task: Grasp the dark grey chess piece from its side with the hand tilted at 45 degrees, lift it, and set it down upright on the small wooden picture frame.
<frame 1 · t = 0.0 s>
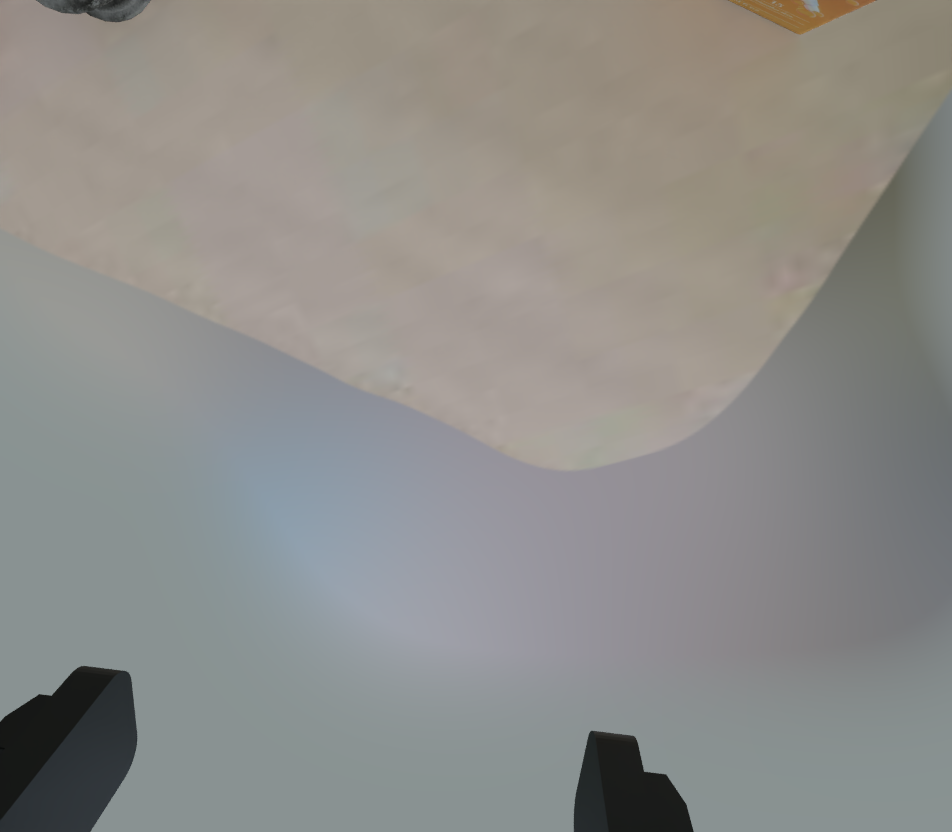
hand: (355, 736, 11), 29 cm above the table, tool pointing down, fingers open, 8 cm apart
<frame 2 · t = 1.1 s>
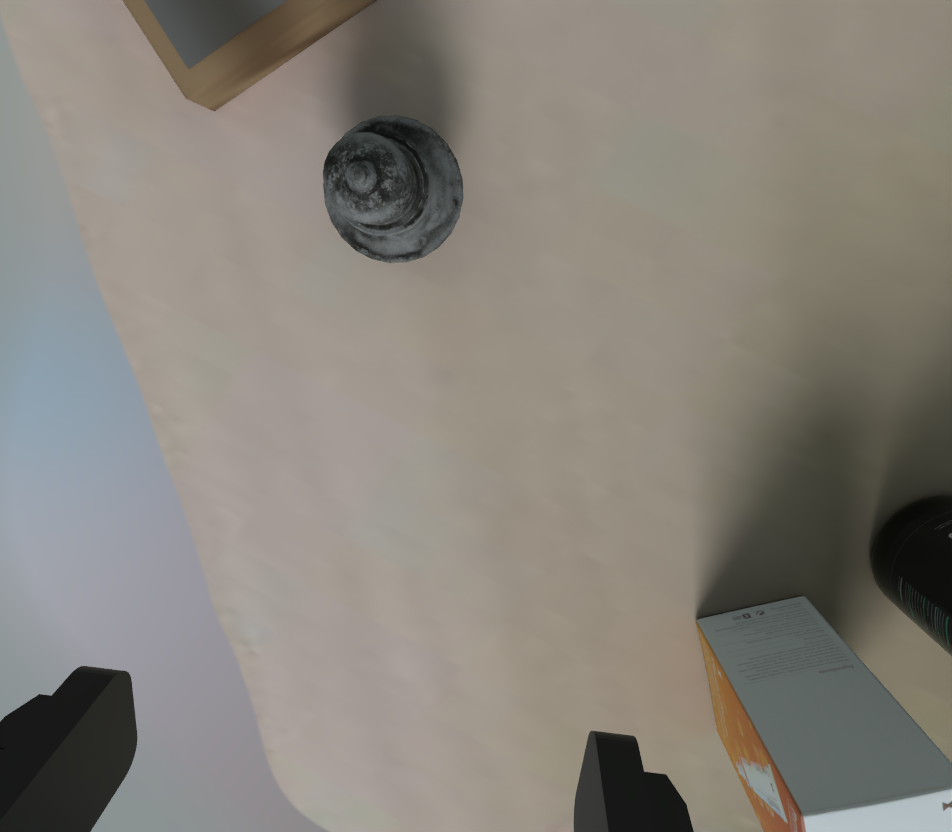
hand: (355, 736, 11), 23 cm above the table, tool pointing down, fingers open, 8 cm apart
small box: (756, 662, 38), on the table
dark grey chess piece: (403, 196, 31), on the table
supplement bottle: (928, 548, 36), on the table
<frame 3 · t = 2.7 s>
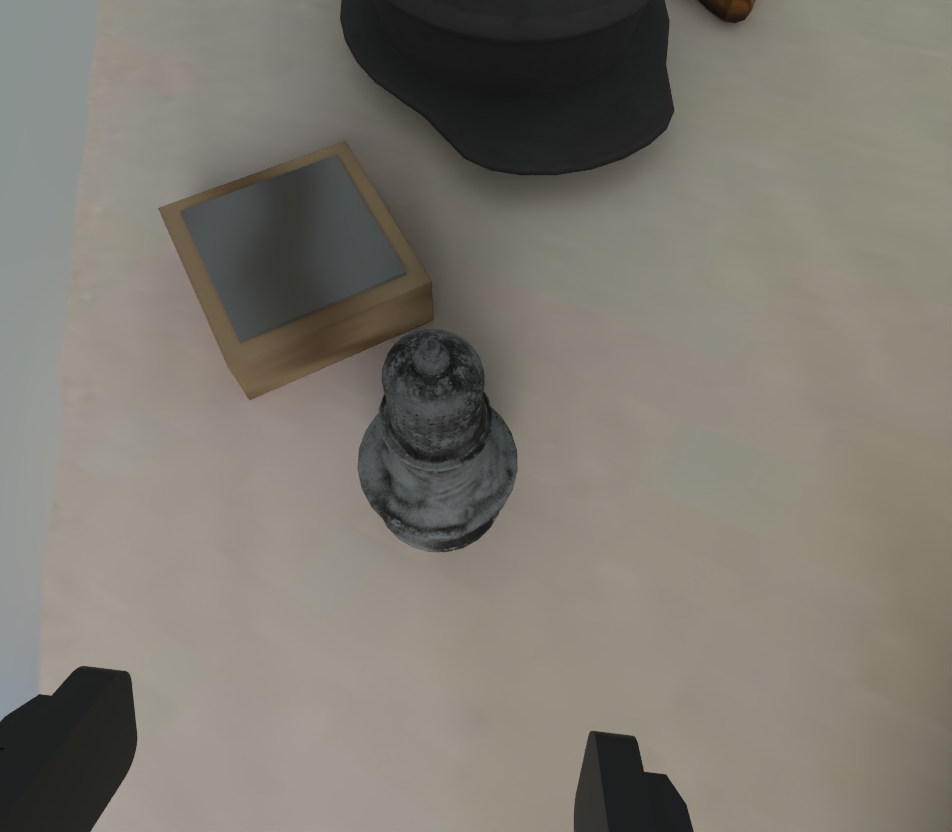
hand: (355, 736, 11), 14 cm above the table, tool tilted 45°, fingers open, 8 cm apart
dark grey chess piece: (439, 490, 28), on the table
casserole: (503, 43, 39), on the table
wooden picture frame: (306, 284, 31), on the table
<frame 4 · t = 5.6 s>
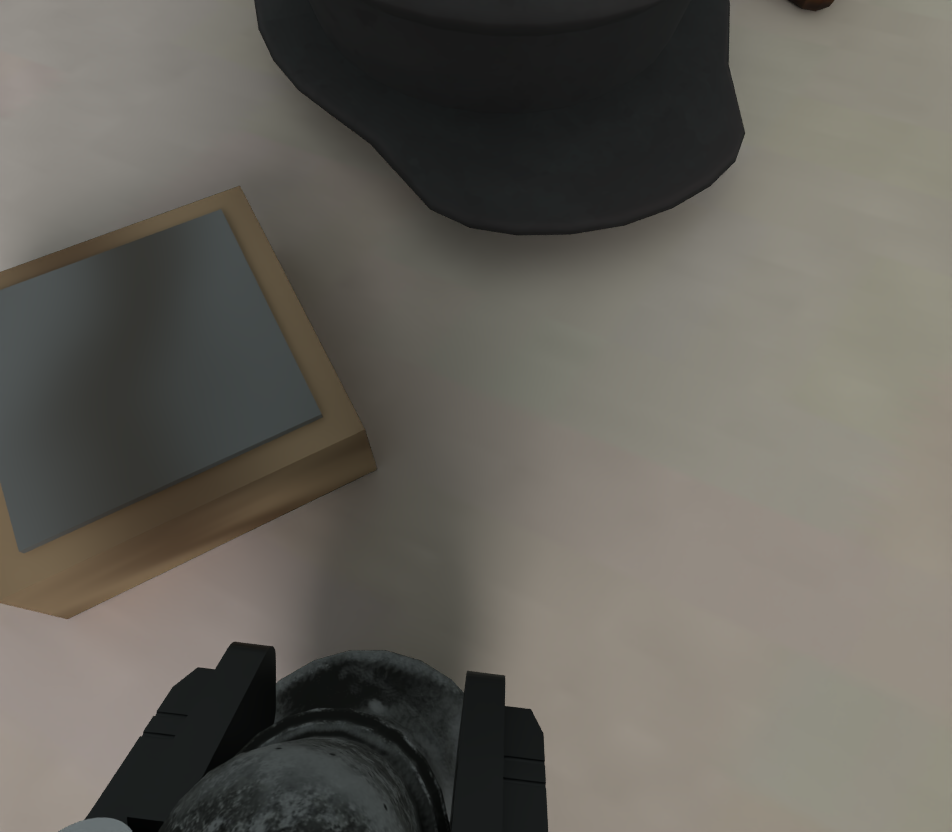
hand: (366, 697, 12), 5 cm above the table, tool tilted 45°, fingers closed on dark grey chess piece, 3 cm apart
dark grey chess piece: (377, 788, 16), on the table, touching gripper
casserole: (491, 35, 28), on the table
wooden picture frame: (179, 410, 20), on the table
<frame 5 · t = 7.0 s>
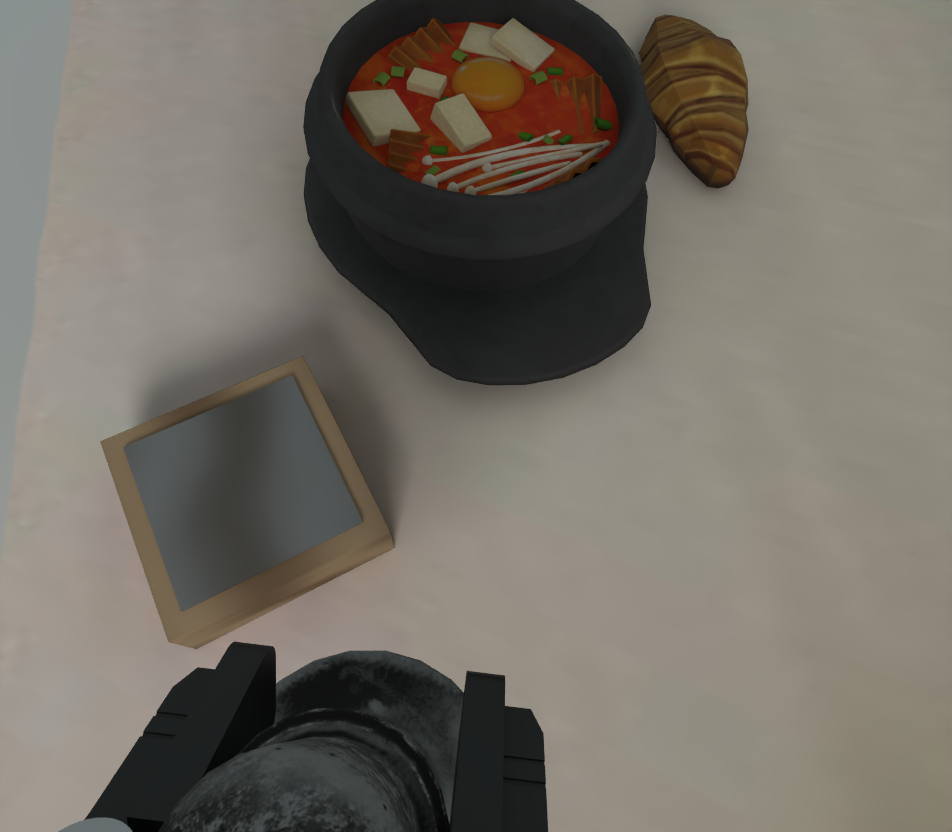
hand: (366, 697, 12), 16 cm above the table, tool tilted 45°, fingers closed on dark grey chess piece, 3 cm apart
dark grey chess piece: (378, 788, 16), point 10 cm above the table, touching gripper
casserole: (475, 209, 38), on the table
croissant: (680, 116, 42), on the table
wooden picture frame: (260, 506, 30), on the table
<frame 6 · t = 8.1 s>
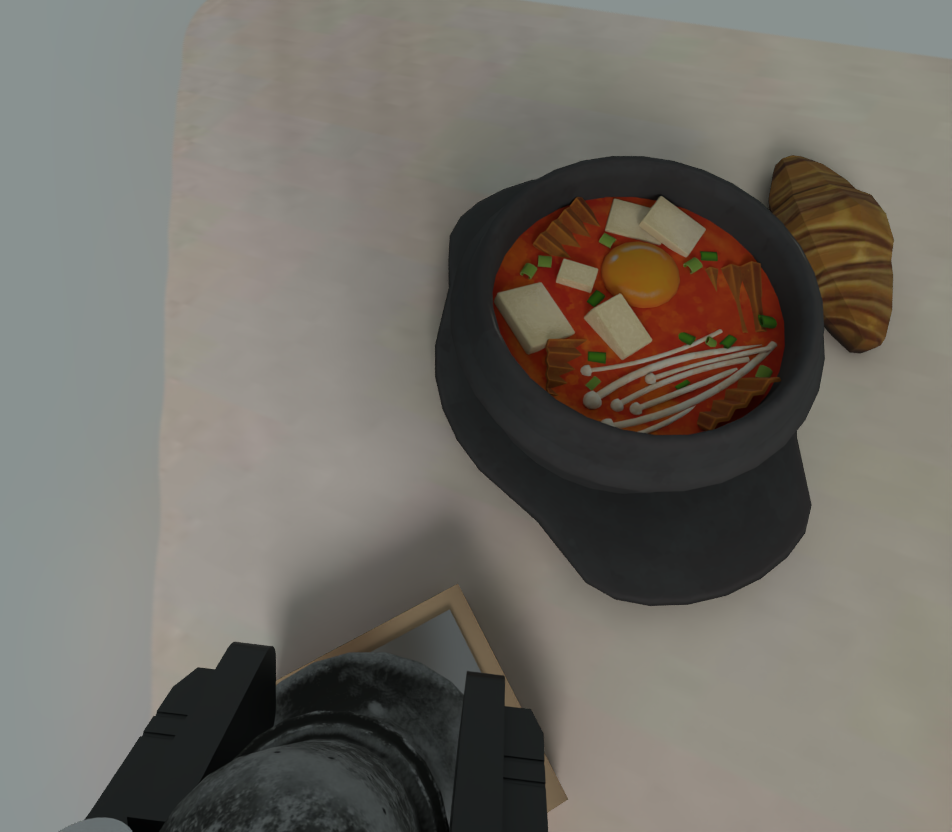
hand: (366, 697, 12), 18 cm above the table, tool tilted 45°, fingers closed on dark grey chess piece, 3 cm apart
dark grey chess piece: (377, 790, 16), point 13 cm above the table, touching gripper
casserole: (606, 377, 36), on the table
croissant: (810, 264, 40), on the table
wooden picture frame: (412, 740, 28), on the table
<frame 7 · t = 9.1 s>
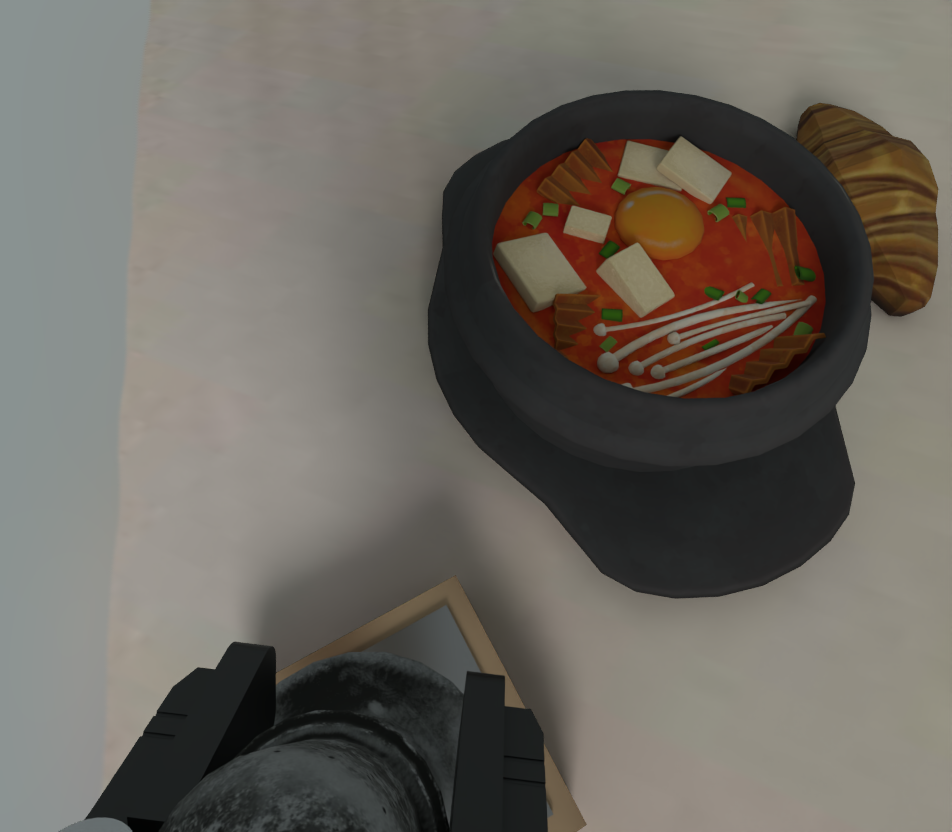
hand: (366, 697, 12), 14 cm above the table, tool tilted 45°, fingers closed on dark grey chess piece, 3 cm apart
dark grey chess piece: (377, 789, 16), point 9 cm above the table, touching gripper
casserole: (619, 346, 32), on the table
croissant: (841, 222, 36), on the table
wooden picture frame: (405, 755, 24), on the table
when the fingers open (9 cm above the table, at t = 10.5 s): dark grey chess piece stays where it is, resting on wooden picture frame.
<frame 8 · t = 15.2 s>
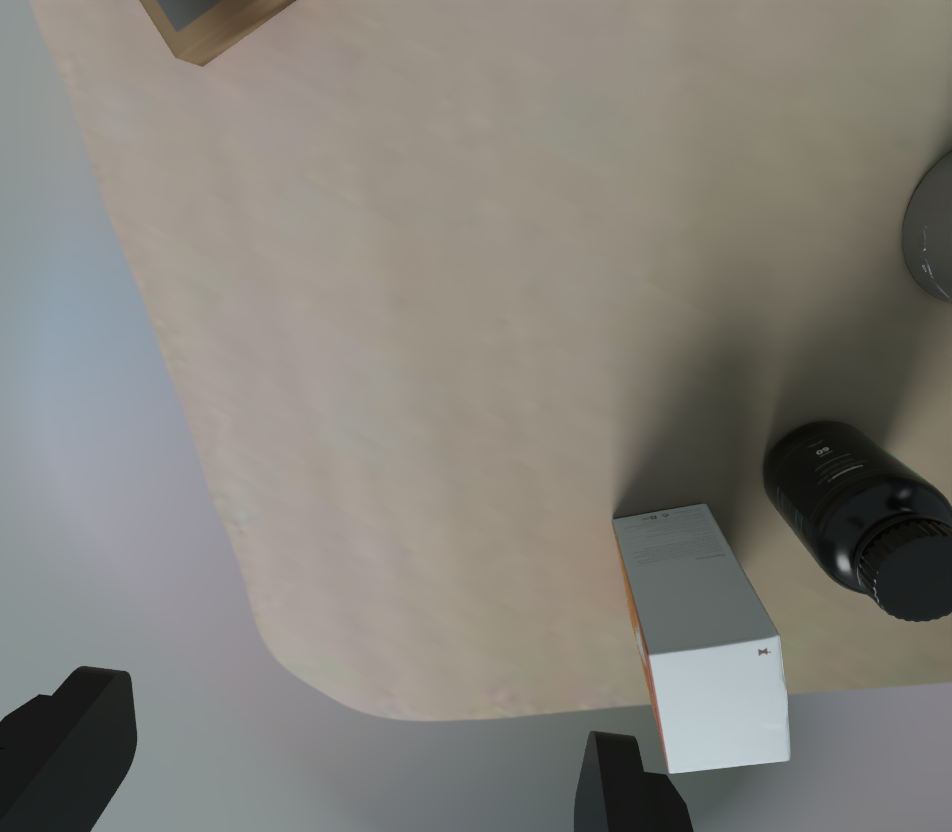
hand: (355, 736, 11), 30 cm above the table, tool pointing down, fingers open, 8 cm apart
small box: (665, 559, 45), on the table
supplement bottle: (814, 467, 42), on the table
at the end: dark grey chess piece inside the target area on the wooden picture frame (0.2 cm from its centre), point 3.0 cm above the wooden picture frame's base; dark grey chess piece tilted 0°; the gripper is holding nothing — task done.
